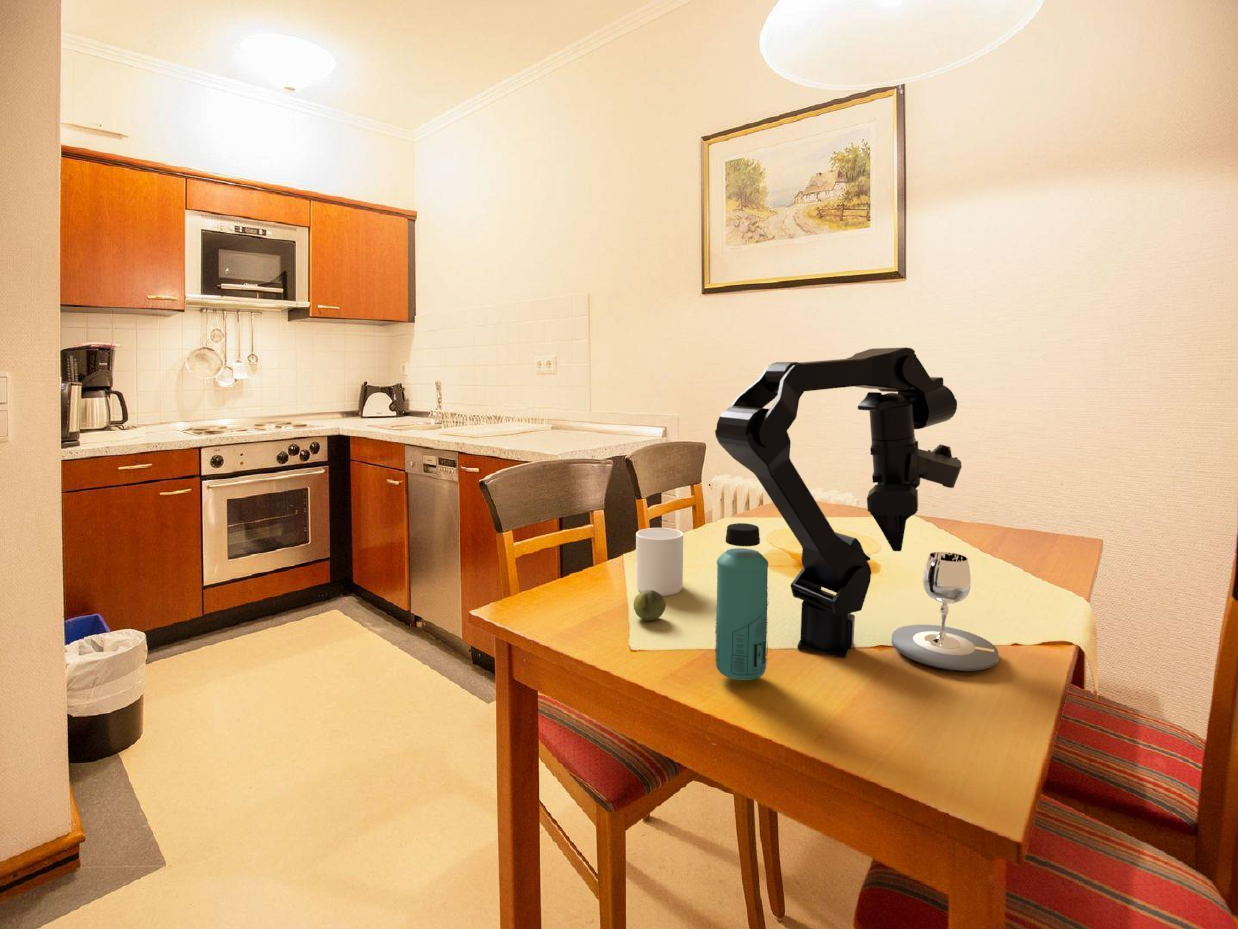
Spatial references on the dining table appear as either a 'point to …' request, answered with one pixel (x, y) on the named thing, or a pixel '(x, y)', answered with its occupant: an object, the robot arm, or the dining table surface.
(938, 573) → the wineglass
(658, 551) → the cup
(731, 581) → the beverage bottle
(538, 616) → the dining table surface
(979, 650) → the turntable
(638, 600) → the lime
